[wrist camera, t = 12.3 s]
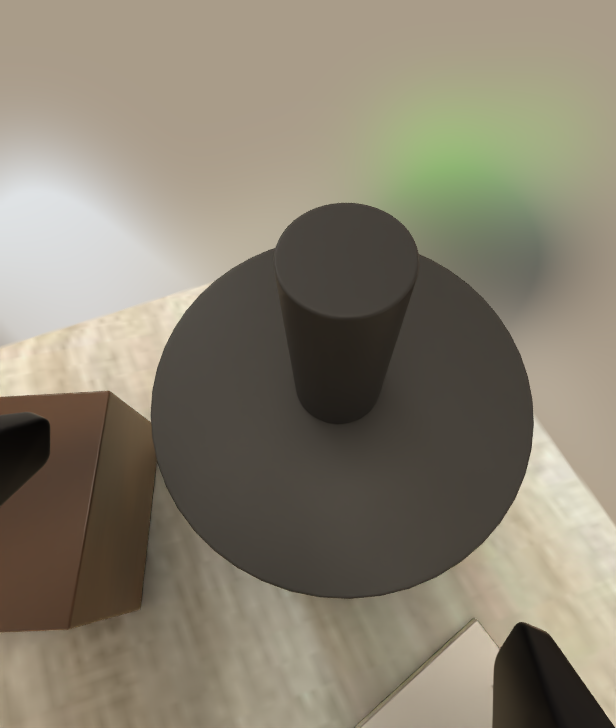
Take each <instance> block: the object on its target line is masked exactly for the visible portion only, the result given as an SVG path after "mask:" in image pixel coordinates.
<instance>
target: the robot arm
mask: <svg viewBox="0 0 616 728" xmlns="http://www.w3.org/2000/svg"><path fill="white" fill-rule="evenodd" d="M49 456H50V423H49V421H48V420H47V419H46V418H44V417H42V416H39V415H37V414H35V413H31V412H21V413H13V414H5V415H0V506H1V505H2V504H4V503H5V502H6V501H7V500H8V499H9V498H10V497H11V496H12V495H13V494H14V493H15V492H16V491H17V490H18V489H20V488H21V487H22V486H23V485H24V484H25V483H26V482H27V481H28V480H29V479H30V478H31V477H32V476H33V475H34V474H36V473H37V472H38V471H39V470H40V469H41V468H42V467H43V466H44V465H45V463H46V462H47V460H48V459H49ZM492 728H615V727H614V725H613V724H612V722H611V721H610V720H609V718H608V717H607V715H606V714H605V712H604V711H603V710H602V708H601V707H600V705H599V704H598V703H597V701H596V700H595V698H594V697H593V695H592V694H591V693H590V691H589V690H588V688H587V687H586V685H585V684H584V683H583V681H582V680H581V678H580V677H579V675H578V674H577V673H576V671H575V670H574V668H573V667H572V665H571V664H570V663H569V661H568V660H567V658H566V657H565V656H564V654H563V653H562V651H561V650H560V648H559V647H558V646H557V644H556V643H555V641H554V640H553V638H552V637H551V636H550V635H549V634H548V633H547V632H545V631H543V630H541V629H539V628H536V627H534V626H532V625H529V624H527V623H524V622H519V623H517V624H516V625H515V626H514V628H513V629H512V631H511V633H510V634H509V636H508V637H507V639H506V641H505V642H504V644H503V645H502V647H501V649H500V650H499V652H498V654H497V656H496V659H495V663H494V673H493V717H492Z"/></svg>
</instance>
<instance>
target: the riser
mask: <svg viewBox="0 0 616 728" xmlns="http://www.w3.org/2000/svg"><path fill="white" fill-rule="evenodd" d="M21 412H31V413H35V414H37V415H39V416H42V417H44V418H46V419H47V420H48V421H49V423H50V456H49V459H48V460H47V462H46V463H45V465H44V466H43V467H42V468H41V469H40V470H39V471H38V472H37V473H36V474H34V475H33V476H32V477H31V478H30V479H29V480H28V481H27V482H26V483H25V484H24V485H23V486H22V487H21V488H20V489H18V490H17V491H16V492H15V493H14V494H13V495H12V496H11V497H10V498H9V499H8V500H7V501H6V502H5V503H4V504H2V505H1V506H0V633H1V632H24V631H46V630H68V629H72V628H76V627H79V626H83V625H86V624H90V623H93V622H97V621H101V620H104V619H108V618H111V617H115V616H118V615H122V614H126V613H129V612H133V611H136V610H139V609H140V607H141V598H142V589H143V580H144V571H145V562H146V553H147V543H148V534H149V525H150V516H151V507H152V498H153V489H154V480H155V471H156V462H157V459H156V454H155V449H154V444H153V439H152V427H151V422H150V421H148V420H147V419H146V418H144V417H143V416H142V415H140V414H139V413H138V412H137V411H135V410H134V409H133V408H131V407H130V406H129V405H127V404H126V403H125V402H123V401H122V400H121V399H120V398H118V397H117V396H116V395H114V394H113V393H112V392H110V391H98V392H80V393H62V394H44V395H26V396H8V397H0V415H5V414H13V413H21Z"/></svg>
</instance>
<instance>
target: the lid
mask: <svg viewBox="0 0 616 728" xmlns="http://www.w3.org/2000/svg"><path fill="white" fill-rule="evenodd" d="M533 426H534V421H533V403H532V396H531V390H530V386H529V380H528V376H527V373H526V370H525V367H524V364H523V361H522V358H521V355H520V353H519V351H518V349H517V347H516V345H515V343H514V341H513V339H512V337H511V335H510V333H509V332H508V330H507V329H506V327H505V325H504V324H503V322H502V321H501V319H500V318H499V317H498V315H497V314H496V313H495V311H494V310H493V309H492V308H491V307H490V306H489V304H488V303H487V302H486V301H485V300H484V299H483V298H482V297H481V296H480V295H479V294H478V293H477V292H476V291H475V290H474V289H473V288H472V287H470V286H469V285H468V284H467V283H465V281H463V280H462V279H461V278H459V277H458V276H457V275H455V274H454V273H452V272H451V271H450V270H448V269H446V268H445V267H443V266H441V265H439V264H438V263H436V262H434V261H432V260H431V259H429V258H426V257H424V256H421V255H419V254H418V250H417V246H416V244H415V241H414V239H413V237H412V236H411V234H410V233H409V231H408V230H407V229H406V228H405V226H404V225H403V224H402V223H400V222H399V221H398V220H397V219H396V218H394V217H393V216H391V215H390V214H388V213H386V212H384V211H382V210H379V209H377V208H374V207H371V206H368V205H363V204H356V203H337V204H329V205H324V206H321V207H318V208H315V209H313V210H310V211H308V212H306V213H304V214H303V215H301V216H300V217H298V218H297V219H296V220H294V221H293V222H292V223H291V224H290V225H289V226H288V227H287V228H286V229H285V231H284V232H283V234H282V235H281V237H280V239H279V241H278V243H277V246H276V248H274V249H271V250H268V251H266V252H263V253H261V254H259V255H257V256H255V257H252V258H250V259H248V260H247V261H245V262H243V263H241V264H239V265H238V266H236V267H234V268H232V269H231V270H230V271H228V272H227V273H225V274H224V275H223V276H221V277H220V278H218V279H217V280H216V281H215V282H213V283H212V284H211V285H210V286H209V287H208V288H207V289H206V290H205V291H204V292H203V293H201V294H200V295H199V297H198V298H197V299H196V300H195V301H194V302H193V304H192V305H191V306H190V307H189V308H188V309H187V310H186V312H185V313H184V315H183V316H182V318H181V319H180V321H179V322H178V324H177V325H176V327H175V328H174V330H173V332H172V334H171V336H170V338H169V340H168V342H167V344H166V346H165V348H164V351H163V354H162V356H161V359H160V362H159V365H158V368H157V372H156V376H155V381H154V386H153V391H152V404H151V427H152V439H153V444H154V449H155V454H156V459H157V463H158V466H159V468H160V471H161V474H162V477H163V479H164V482H165V485H166V487H167V489H168V491H169V493H170V495H171V496H172V498H173V500H174V502H175V504H176V506H177V508H178V509H179V511H180V512H181V513H182V515H183V516H184V517H185V519H186V520H187V521H188V523H189V524H190V526H191V527H192V528H193V530H194V531H195V532H196V533H197V534H198V535H199V536H200V537H201V538H202V539H203V540H204V541H205V542H206V543H207V544H208V545H209V546H210V547H211V548H212V549H213V550H214V551H216V552H217V553H218V554H220V555H221V556H222V557H224V558H225V559H226V560H228V561H229V562H230V563H232V564H233V565H234V566H236V567H237V568H239V569H241V570H243V571H244V572H246V573H248V574H250V575H252V576H254V577H256V578H257V579H259V580H261V581H263V582H266V583H269V584H272V585H274V586H277V587H280V588H283V589H285V590H288V591H291V592H296V593H301V594H306V595H311V596H316V597H324V598H344V599H354V598H364V597H374V596H382V595H386V594H390V593H394V592H398V591H401V590H405V589H409V588H412V587H414V586H416V585H419V584H421V583H424V582H426V581H428V580H431V579H433V578H435V577H437V576H439V575H441V574H442V573H444V572H445V571H447V570H449V569H450V568H452V567H453V566H455V565H457V564H458V563H460V562H462V561H463V560H464V559H465V558H466V557H467V556H468V555H470V554H471V553H472V552H473V551H474V550H475V549H477V548H478V547H479V546H480V545H481V544H482V543H483V542H484V541H485V540H486V539H487V538H488V537H489V535H490V534H491V533H492V532H493V531H494V529H495V528H496V527H497V526H498V525H499V524H500V522H501V521H502V519H503V518H504V516H505V514H506V513H507V511H508V510H509V508H510V506H511V505H512V503H513V501H514V500H515V498H516V495H517V493H518V491H519V488H520V486H521V483H522V481H523V479H524V476H525V473H526V469H527V465H528V461H529V457H530V453H531V448H532V437H533Z"/></svg>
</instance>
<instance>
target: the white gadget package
mask: <svg viewBox="0 0 616 728" xmlns="http://www.w3.org/2000/svg"><path fill="white" fill-rule="evenodd" d="M499 650H500V649H499V647H498V646H497V645H496V643H495V642H494V641H493V640H492V638H491V637H490V636H489V634H488V633H487V632H486V630H485V629H484V628H483V626H482V625H481V624H480V622H479V621H478V620H477V619H475V618H474V619H472V620H471V621H470V622H469V623H468V624H467V625H466V626H465V627H464V628H463V629H462V630H460V631H459V632H458V633H457V634H456V635H455V636H454V637H453V638H452V639H451V640H450V641H448V642H447V643H446V644H445V645H444V646H443V647H442V648H441V649H440V650H439V651H438V652H436V653H435V654H434V655H433V656H432V657H431V658H430V659H429V660H428V661H427V662H426V663H424V664H423V665H422V666H421V667H420V668H419V669H418V670H417V671H416V672H415V673H414V674H412V675H411V676H410V677H409V678H408V679H407V680H406V681H405V682H404V683H403V684H402V685H400V686H399V687H398V688H397V689H396V690H395V691H394V692H393V693H392V694H391V695H390V696H388V697H387V698H386V699H385V700H384V701H383V702H382V703H381V704H380V705H379V706H378V707H376V708H375V709H374V710H373V711H372V712H371V713H370V714H369V715H368V716H367V717H366V718H364V719H363V720H362V721H361V722H360V723H359V724H358V725H357V726H356V727H355V728H492V717H493V673H494V663H495V659H496V656H497V654H498V652H499Z"/></svg>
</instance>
